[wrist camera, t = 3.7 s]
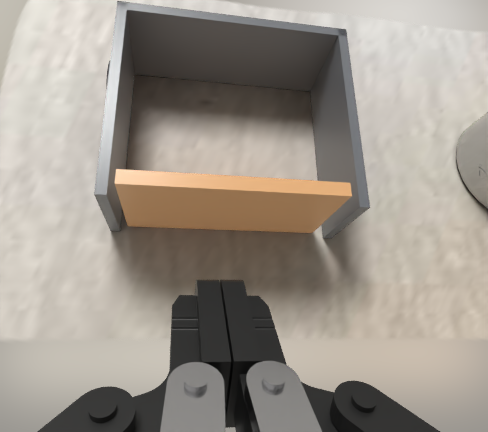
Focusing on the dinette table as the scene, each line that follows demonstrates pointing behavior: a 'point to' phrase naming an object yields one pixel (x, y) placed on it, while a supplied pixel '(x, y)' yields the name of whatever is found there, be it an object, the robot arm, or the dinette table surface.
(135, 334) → the dinette table surface
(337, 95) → the open u-shaped enclosure
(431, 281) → the dinette table surface
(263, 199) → the side door
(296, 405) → the robot arm
